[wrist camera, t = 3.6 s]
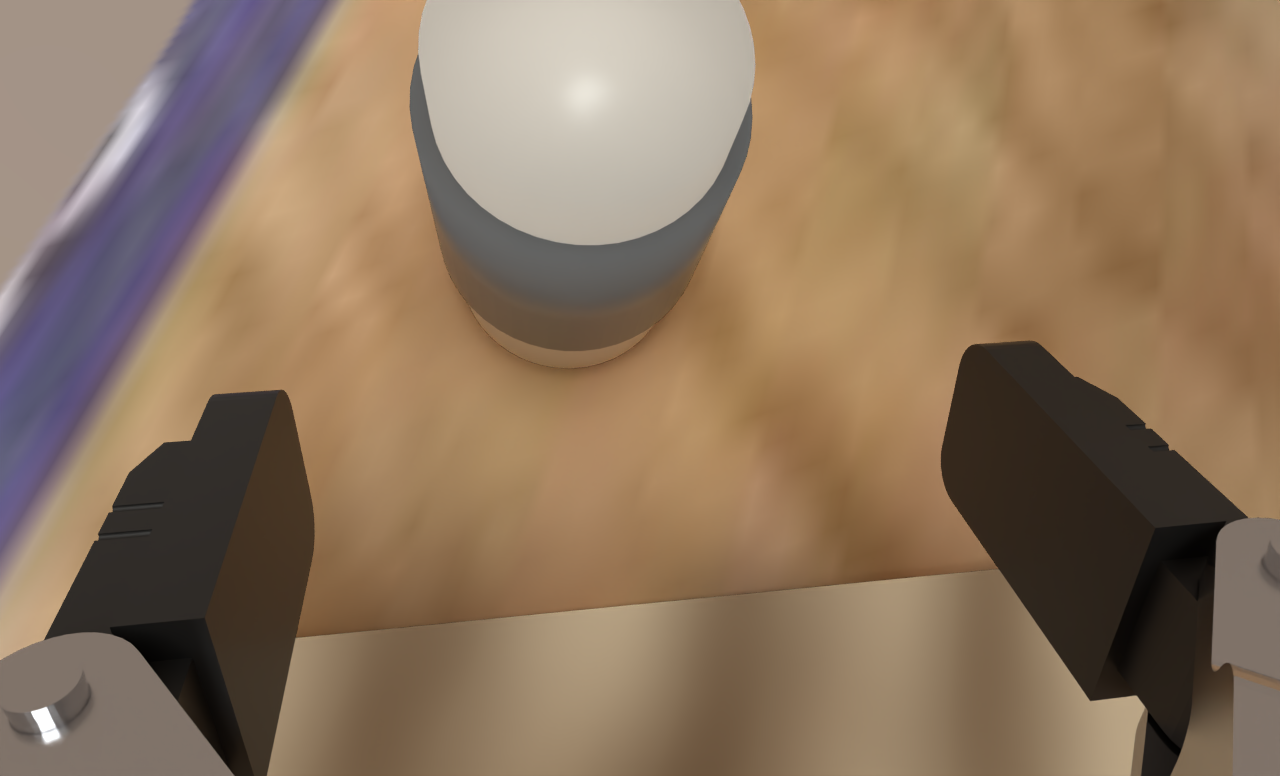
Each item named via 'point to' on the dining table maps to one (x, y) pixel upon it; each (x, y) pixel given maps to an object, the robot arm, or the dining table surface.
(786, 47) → the dining table surface
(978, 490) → the robot arm
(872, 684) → the oak board
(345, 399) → the dining table surface
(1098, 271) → the dining table surface
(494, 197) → the grey banded cylinder
